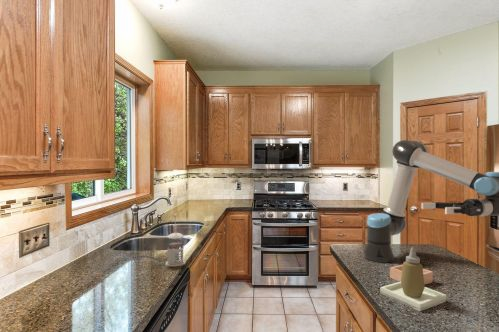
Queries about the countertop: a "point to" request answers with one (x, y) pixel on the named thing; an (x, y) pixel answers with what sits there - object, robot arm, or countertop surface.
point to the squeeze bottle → (412, 276)
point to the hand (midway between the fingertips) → (433, 208)
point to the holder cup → (397, 274)
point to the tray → (421, 303)
